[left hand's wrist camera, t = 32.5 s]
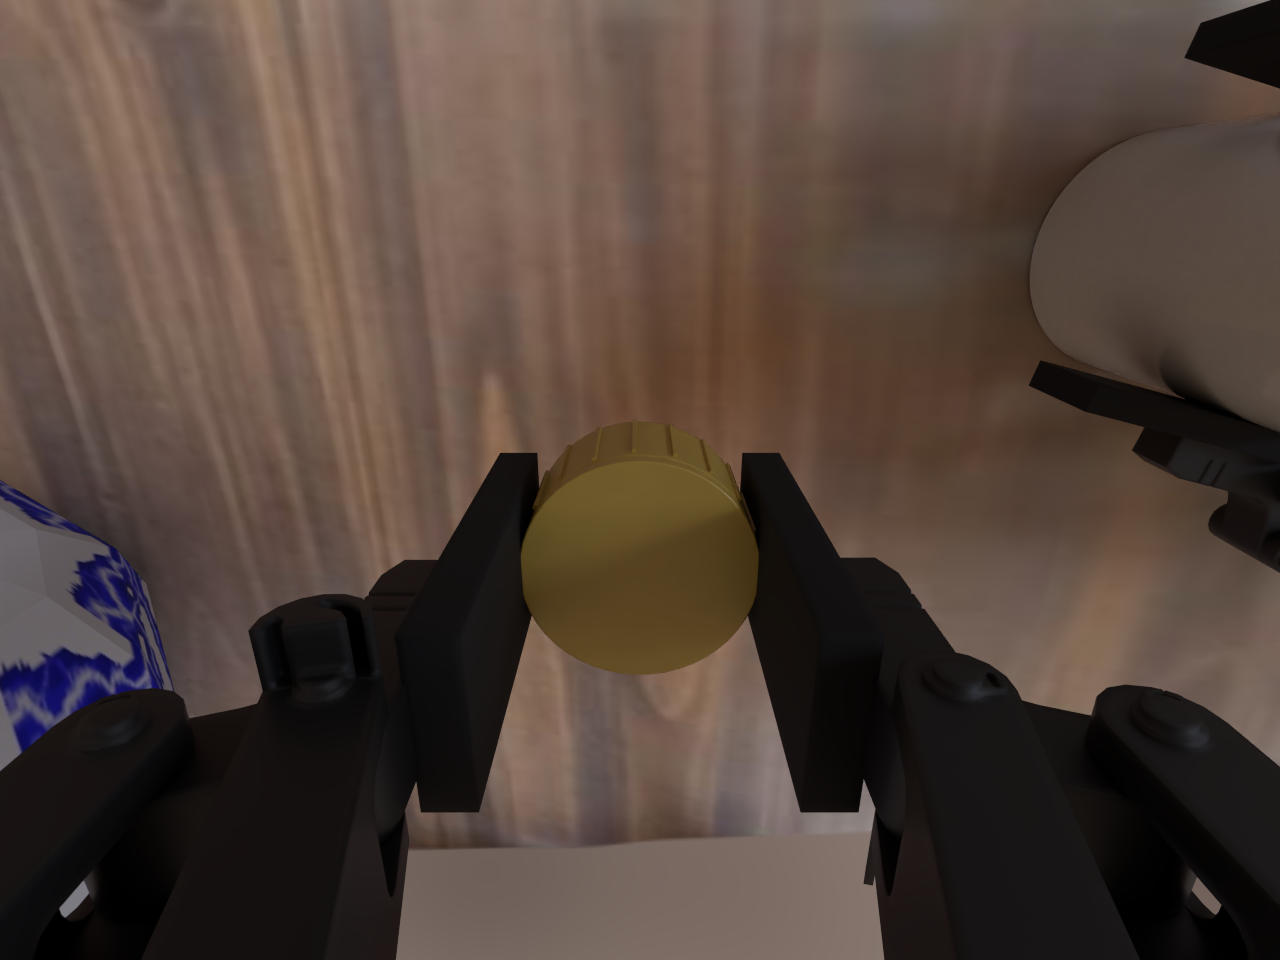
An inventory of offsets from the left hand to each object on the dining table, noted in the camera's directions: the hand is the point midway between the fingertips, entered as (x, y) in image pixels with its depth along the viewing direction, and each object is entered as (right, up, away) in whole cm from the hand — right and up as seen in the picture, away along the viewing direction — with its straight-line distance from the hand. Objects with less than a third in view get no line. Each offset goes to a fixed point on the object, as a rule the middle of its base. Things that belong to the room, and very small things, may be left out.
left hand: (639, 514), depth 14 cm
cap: (0, -1, -2) cm, 2 cm away
